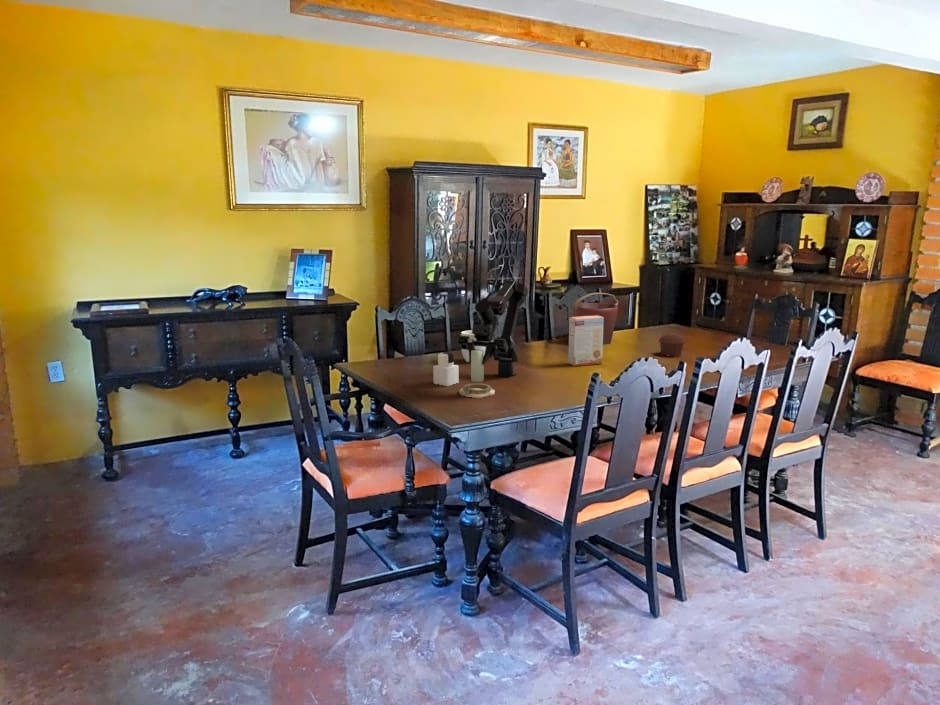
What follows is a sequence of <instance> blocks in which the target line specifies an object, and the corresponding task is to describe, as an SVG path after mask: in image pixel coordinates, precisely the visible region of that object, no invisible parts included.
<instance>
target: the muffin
mask: <svg viewBox="0 0 940 705" xmlns="http://www.w3.org/2000/svg"><path fill="white" fill-rule="evenodd" d="M658 341H659V344H660V354H661V353H662V354H664V355H669V356H679V355H681V356H682V354H683V349H684V345H685V343H686V341H685V338H684V337H683V336H682V335H680V334H678V333H675V332H668V333H667V332H666V333H665V334H663V335H662V336H660V338H659V339H658ZM679 357H680V356H679Z"/></svg>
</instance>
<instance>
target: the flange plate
mask: <svg viewBox="0 0 940 705" xmlns="http://www.w3.org/2000/svg"><path fill="white" fill-rule="evenodd" d="M458 391H459V395H460V396H462V397H464V396H465V398H469V397H472V398H471V399H484V398H483V397H486V398H490V397H493V396H494V395H495V392H496V390H495V389H494V388H492V386H491V385H490V384H486V383H480V382H476V383H475V382H474V383H467V384H464V385H463V387H462V388H460V389H459V390H458ZM492 395H493V396H492ZM489 396H490V397H489Z"/></svg>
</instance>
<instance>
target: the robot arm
mask: <svg viewBox="0 0 940 705" xmlns="http://www.w3.org/2000/svg"><path fill="white" fill-rule="evenodd" d="M528 295H529V289H528V287H527V286H526V285H525V284H523V283H520V282H518V281H517V280H510V279H509V280H504V282H503V285H502V286H501V288H499V290H498V292H497V293H496V294H495V296H493V297H490V298H489V297H483V298H482V300H479V301H478V302H477V303H476V304H475V305H474V309H475V311H476V314H477V316H478V318H479V320H481V324H472V328H471V330H472V334H475V335H474V337H475V338H476V340H473V339H470V338H469V336H461V334H460V335H458V337H457V339H456V342H457V344H458V346H459V348H460V350H461V349H465V350H468V351H469V362H470V363H469V362H468V363H469V364H471V351H472V350H475V346H482V347H485V353H484V354H485V355H484V358H483V361H482V364H483V365H486V363H487V362H488V361H489V360H490V359H491V358H493V360H494V361H497V363H498V365H497V372H496V373H495V374H494V376H498V377H503V378H510V377H514V376H516V375H517V373H516V372H514V363H516V362H518V359H519V353H518V352H517V350H516V344H515V341H514V335H515V330H516V326H517V322H518V321H517V320H518V317H519V312H520V309H521V308H520V307H521V306H523V304H524V303H525V302H526V299H527V297H528ZM507 302H508V306H506V303H507ZM506 307H507V308H506ZM505 312H506V313H505ZM504 313H505V314H506V315H505V319H504V323H503V328H502V333H501V334H500V336H499V337H496V338H495V336H496V334H495V333H496V329H497V327H498V326H499V325H500V322H499V316H500V317H501V316H503V315H504ZM497 316H498V317H497ZM493 338H494V340H493ZM492 341H493V342H492Z"/></svg>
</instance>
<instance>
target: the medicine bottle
mask: <svg viewBox="0 0 940 705" xmlns="http://www.w3.org/2000/svg"><path fill="white" fill-rule="evenodd" d="M454 356H455V355H454V354H453V353H451V352H448V351H447V352H445V351H444V352H440V353H439V354H437V364H436V365H433V368H432V369H433V372H432V373H433V374H432V375H433V384H434V385H438V384H439V386H442V385H443V386H444V387H450V386H452V385H453V384H454V385H456V383H457V384H459V380H460V379H459V365H458V364H454V363H455V360H454ZM443 386H442V387H443Z"/></svg>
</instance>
